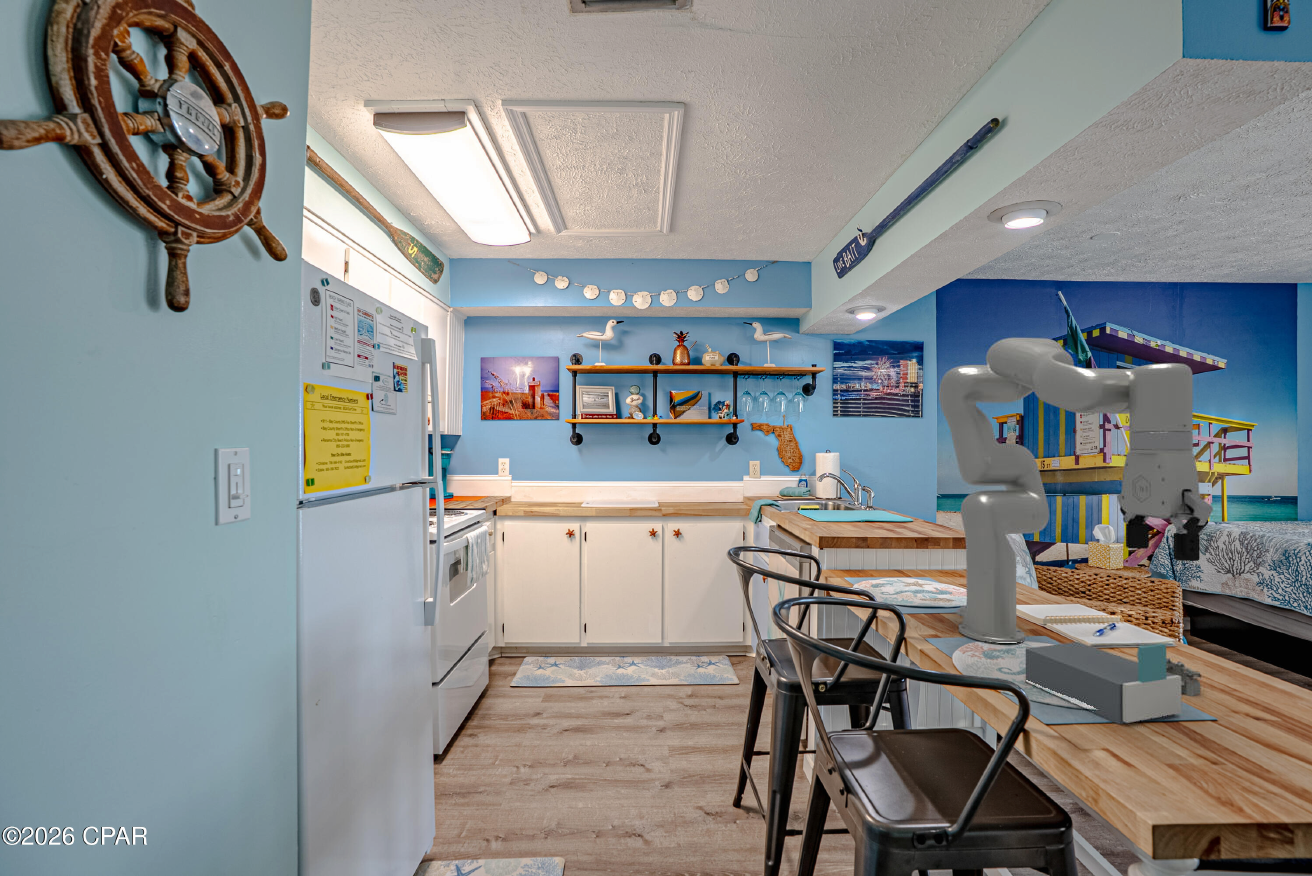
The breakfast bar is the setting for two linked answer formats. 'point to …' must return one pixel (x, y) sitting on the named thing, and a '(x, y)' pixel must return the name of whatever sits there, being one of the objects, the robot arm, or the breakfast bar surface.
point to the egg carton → (1184, 677)
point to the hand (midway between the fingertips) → (1160, 553)
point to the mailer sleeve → (1083, 675)
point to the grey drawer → (1151, 688)
